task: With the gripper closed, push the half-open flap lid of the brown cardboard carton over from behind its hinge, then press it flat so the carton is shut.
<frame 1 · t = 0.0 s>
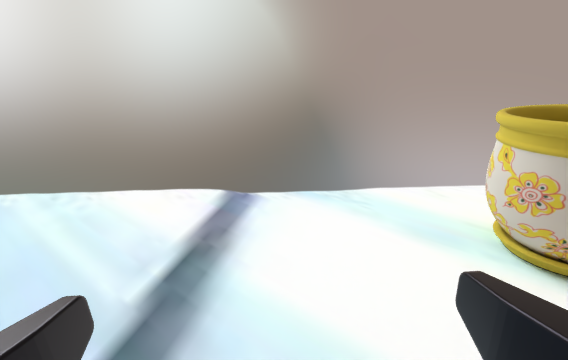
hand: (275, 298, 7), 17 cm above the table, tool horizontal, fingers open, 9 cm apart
flowerpot: (561, 251, 36), on the table
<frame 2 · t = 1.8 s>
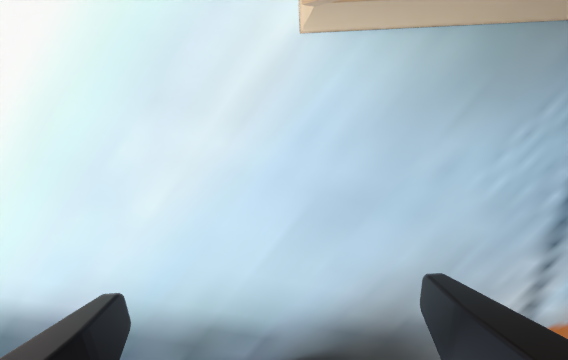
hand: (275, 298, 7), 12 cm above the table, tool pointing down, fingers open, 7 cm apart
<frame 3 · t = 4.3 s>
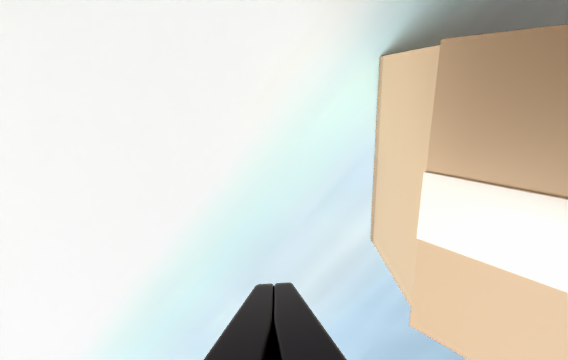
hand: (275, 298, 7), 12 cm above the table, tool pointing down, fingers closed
carton: (498, 150, 19), on the table
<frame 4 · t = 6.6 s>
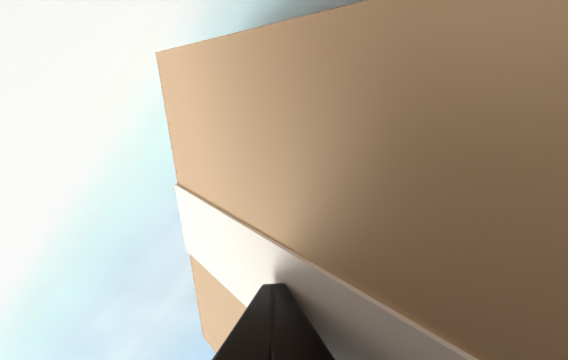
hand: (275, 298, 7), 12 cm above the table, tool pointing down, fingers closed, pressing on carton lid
carton lid: (353, 335, 6), point 13 cm above the table, hinge at 49.4°, touching gripper
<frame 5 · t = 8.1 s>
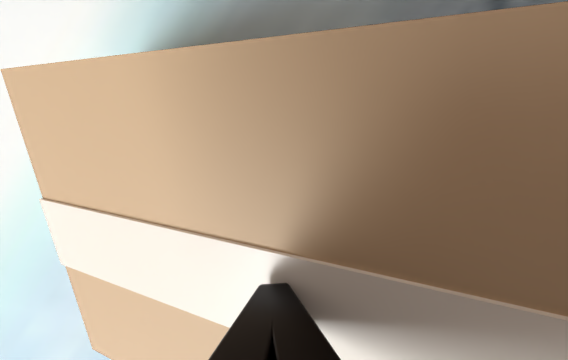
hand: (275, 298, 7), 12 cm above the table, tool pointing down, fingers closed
carton lid: (221, 275, 8), point 11 cm above the table, hinge at 26.5°, touching gripper
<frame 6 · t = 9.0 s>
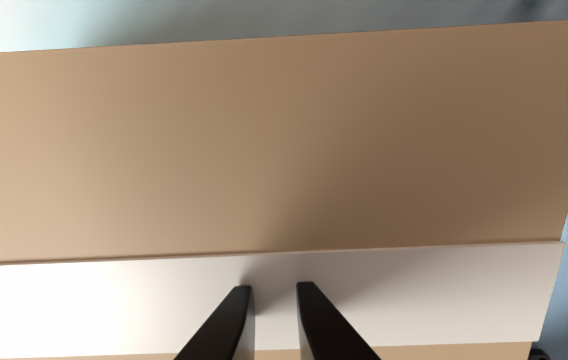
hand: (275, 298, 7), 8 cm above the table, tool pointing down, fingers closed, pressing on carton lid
carton lid: (224, 297, 8), point 8 cm above the table, hinge at 2.7°, touching gripper
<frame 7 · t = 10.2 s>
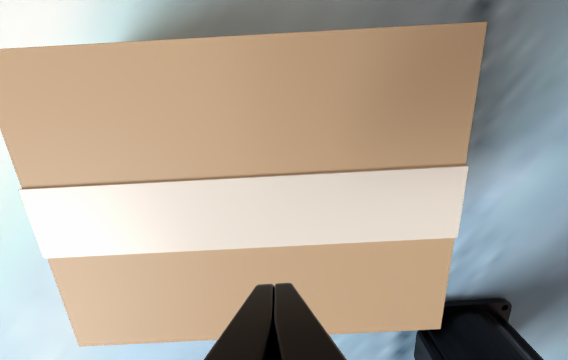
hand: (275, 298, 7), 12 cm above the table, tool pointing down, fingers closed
carton lid: (246, 210, 11), point 8 cm above the table, hinge at 1.3°
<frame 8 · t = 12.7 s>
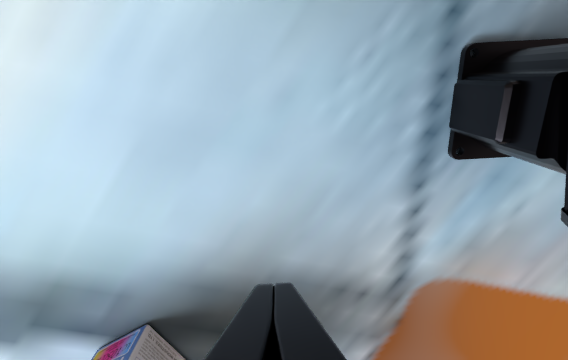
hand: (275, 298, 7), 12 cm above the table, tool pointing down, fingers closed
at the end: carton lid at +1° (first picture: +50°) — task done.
